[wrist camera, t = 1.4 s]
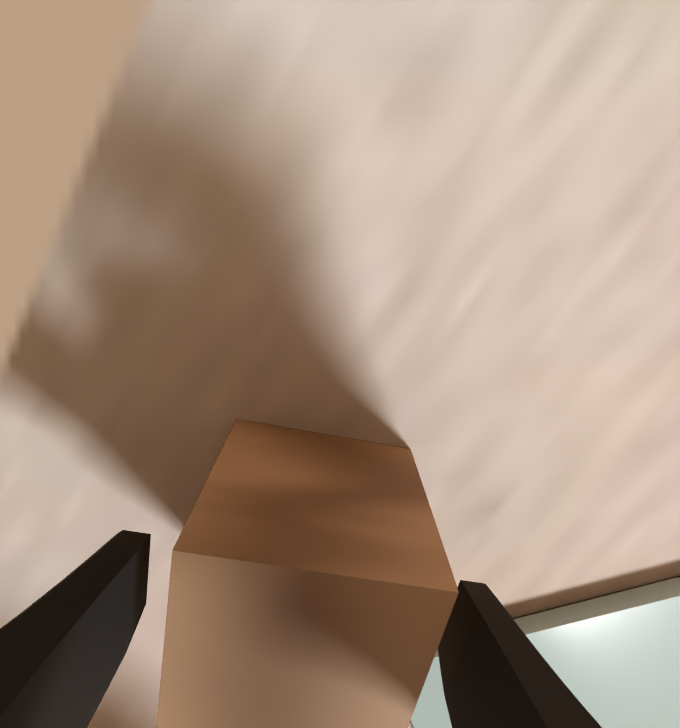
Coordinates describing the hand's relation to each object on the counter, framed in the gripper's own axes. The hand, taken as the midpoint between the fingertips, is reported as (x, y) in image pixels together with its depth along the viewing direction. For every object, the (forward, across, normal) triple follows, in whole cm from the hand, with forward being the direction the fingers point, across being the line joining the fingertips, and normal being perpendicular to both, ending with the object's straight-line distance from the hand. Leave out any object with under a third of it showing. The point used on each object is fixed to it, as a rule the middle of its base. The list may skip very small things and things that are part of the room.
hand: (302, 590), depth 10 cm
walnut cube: (+3, 0, 0) cm, 3 cm away
